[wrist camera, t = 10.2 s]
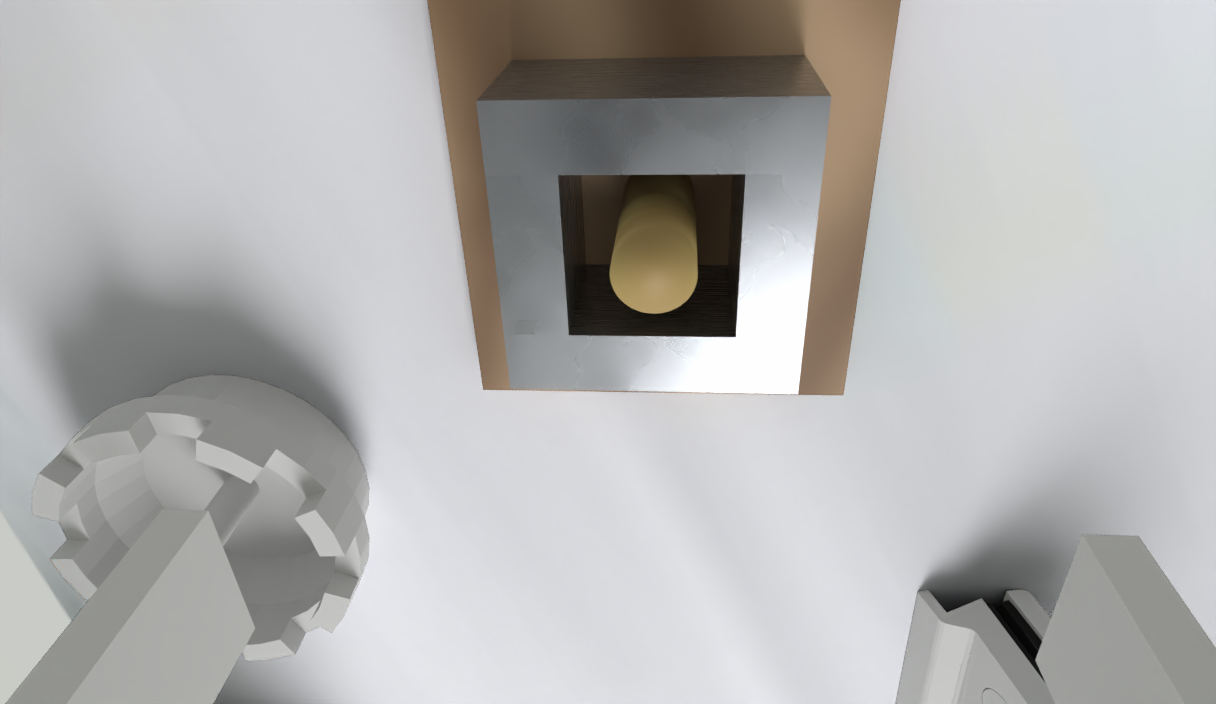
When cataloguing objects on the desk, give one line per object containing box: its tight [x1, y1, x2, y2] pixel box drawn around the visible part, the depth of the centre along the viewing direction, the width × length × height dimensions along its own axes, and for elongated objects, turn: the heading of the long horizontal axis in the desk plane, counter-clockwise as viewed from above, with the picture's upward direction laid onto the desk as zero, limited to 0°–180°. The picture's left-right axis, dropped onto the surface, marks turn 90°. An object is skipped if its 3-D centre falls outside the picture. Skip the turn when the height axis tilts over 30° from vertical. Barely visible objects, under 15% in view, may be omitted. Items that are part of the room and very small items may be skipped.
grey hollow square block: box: [476, 55, 831, 394], centre depth 25 cm, size 9×9×5 cm
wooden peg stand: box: [427, 0, 901, 395], centre depth 25 cm, size 14×16×8 cm
